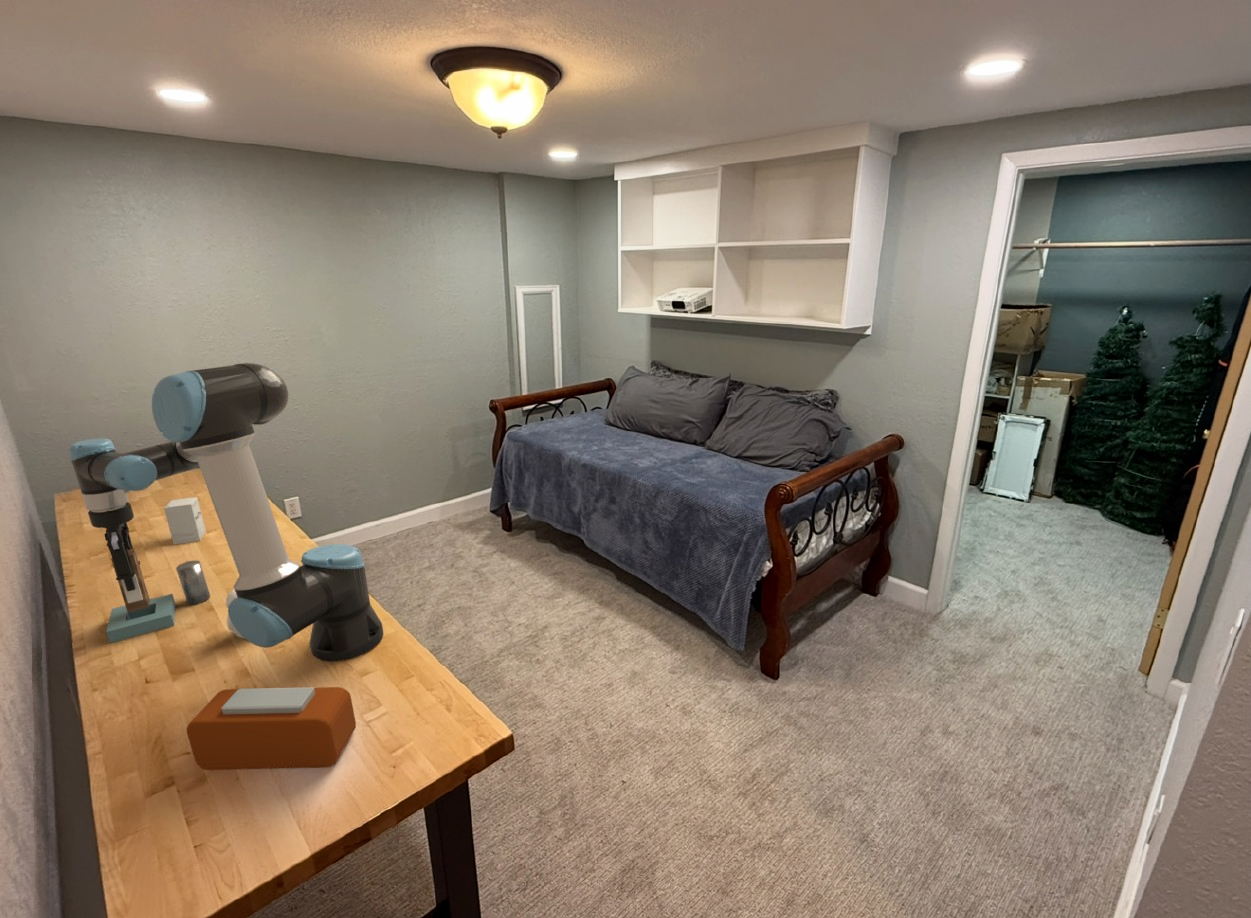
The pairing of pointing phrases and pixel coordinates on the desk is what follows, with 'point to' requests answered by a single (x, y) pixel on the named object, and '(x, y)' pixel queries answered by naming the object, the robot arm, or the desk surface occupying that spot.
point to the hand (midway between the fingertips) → (136, 596)
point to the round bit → (193, 582)
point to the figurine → (229, 599)
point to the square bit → (140, 579)
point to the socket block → (141, 619)
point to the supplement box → (185, 520)
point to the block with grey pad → (272, 728)
